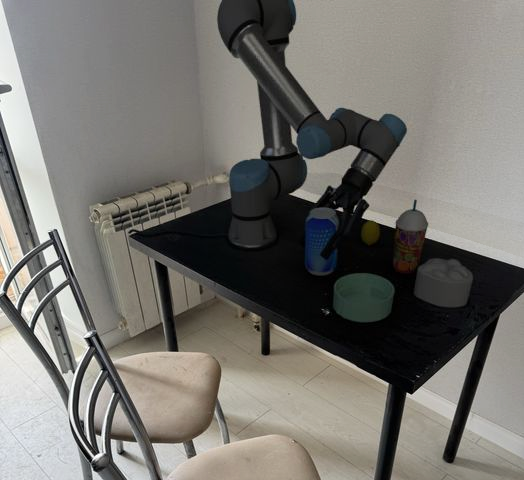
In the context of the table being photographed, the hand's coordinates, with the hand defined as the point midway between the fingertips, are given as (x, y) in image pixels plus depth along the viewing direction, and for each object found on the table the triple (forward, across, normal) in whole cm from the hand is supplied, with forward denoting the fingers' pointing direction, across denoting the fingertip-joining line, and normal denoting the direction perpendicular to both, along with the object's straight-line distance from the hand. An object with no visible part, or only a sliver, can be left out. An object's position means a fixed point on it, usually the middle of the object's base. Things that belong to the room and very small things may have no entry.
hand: (311, 251), depth 130 cm
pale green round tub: (+5, -16, -9) cm, 19 cm away
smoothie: (-11, -10, -26) cm, 30 cm away
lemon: (-13, +7, -28) cm, 31 cm away
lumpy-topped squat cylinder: (-9, -25, -23) cm, 36 cm away
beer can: (+2, 0, -7) cm, 7 cm away
